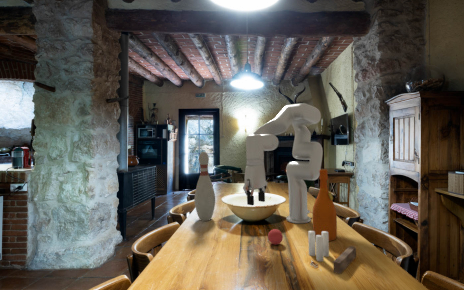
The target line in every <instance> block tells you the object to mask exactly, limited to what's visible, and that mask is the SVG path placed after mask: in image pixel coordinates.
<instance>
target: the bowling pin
mask: <svg viewBox="0 0 464 290" xmlns="http://www.w3.org/2000/svg"><path fill="white" fill-rule="evenodd" d="M209 160H210V158H209V154H208V152H206V151H201V152H200V153H199V156H198V164H199V169H200V172H199V173H200V174H199V177H198V180H197V183H196V188H195V192H194V196H193V197H194V206H195V211H196V213H197V216H198V219H199V221H201V222H207V221H208V222H209V221H210V220H211V219H212V218H213V214H214V212H215V208H216V206H215V205H216V194H215V193H216V192H215V190H214V186H213V182H212V180H211V178H210V175H209V171H208V170H209V167H208V166H209V162H210V161H209Z"/></svg>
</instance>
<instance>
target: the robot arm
mask: <svg viewBox="0 0 464 290" xmlns="http://www.w3.org/2000/svg"><path fill="white" fill-rule="evenodd" d="M321 119H322V114H321V111H320V109H319V108H317V107H316V106H313V105H310V104H308V103H305V102H299V103H292V104H287V105H285V106H284V107H283V108H282V109H281V110H280V111H279V112H278V114H276V116H274V118H273V119H271V120H269V121H268V122H265V123H264V124H263V125H260V126H259V127H258V128H256V129H255V130H254V131H253V132H252V134H248V135H246V138H245V146H246V147H245V148H246V149H245V152H246V153H245V154H246V166H245V168H244V169H245V170H244V181H243V184H244V185H243V187H242V189H243V191H244V194H245V195H246V201H247V205H248V206H254V205H255V197H254V192H255V190H258V192H257V195H258V196H257V197H258V202H262V203H264V202H266V195H265V194H266V189H267V186H268V181H267V180H266V170H265V158H264V157H265V155H264V152H266V151H267V152H269V151H274V150H276V149H277V148H278V147H279V143H280V142H279V138H278V137H277V136H278V135H281V134H284V133H285V132H287V130H289V128H290V127H291V126H292V128H293V130H294V140H293V144H292V145H293V146H292V151H291V152H292V153H291V154H292V157H293V158H294V159H296V160H295V161H289V162H288V163H287V165H286V168H285V171H286V176H287V181H288V211H289V212H288V216H286V221H287V222H289V223H293V224H307V223H310V222H311V221H312V220H311V217H310V216H308V214H311V213H310V212H311V211H310V209H308V188H307V187H308V186H307V184H306V182H305V181H316V180H318V179H319V177H320V173H319V170H320V169H322V168H321V167H322V162H323V155H324V154H323V152H324V151H323V147H322V144H321V143H320V142H318V141H311V139H312V138H311V137H312V134H311V131H310V130H309V128H308V127H307V125H316V124H319V122H321ZM302 160H303V161H302ZM308 160H309V161H308Z"/></svg>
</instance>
